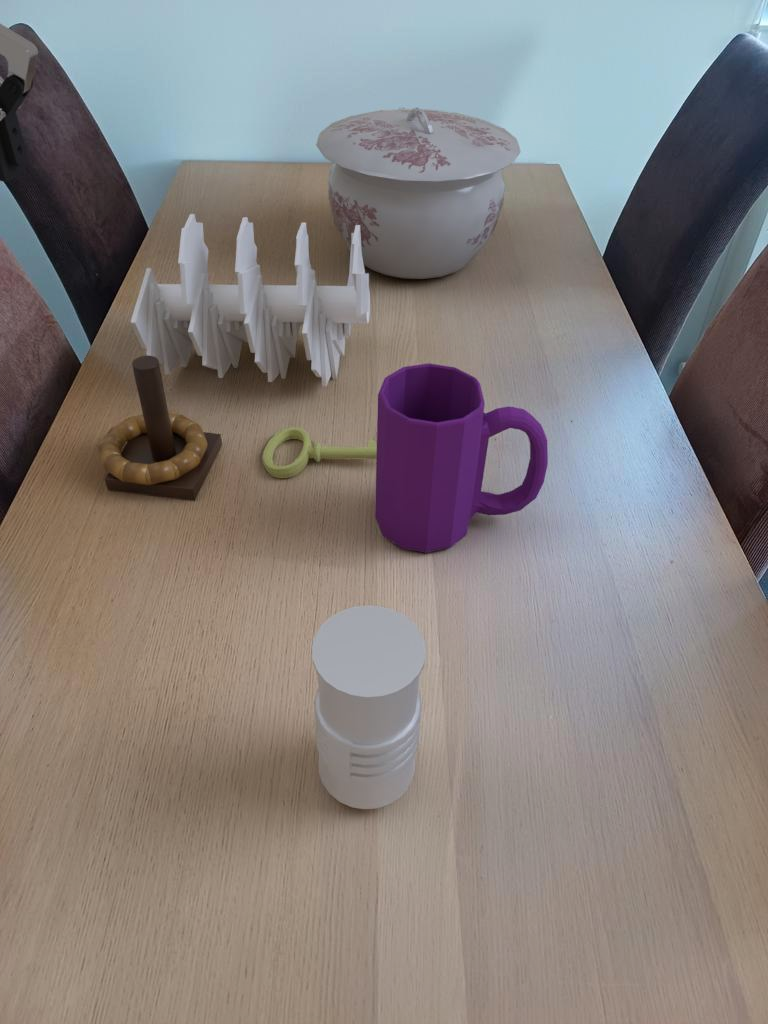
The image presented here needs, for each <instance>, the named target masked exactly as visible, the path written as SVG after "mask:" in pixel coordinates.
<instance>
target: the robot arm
mask: <svg viewBox="0 0 768 1024" xmlns="http://www.w3.org/2000/svg"><path fill="white" fill-rule="evenodd" d="M0 55H2V56H3V57H4V59H5V60H6V62H7V70H6V71H7V75H6V77H5V78H3V77H2V76H1V75H0V182H5V183H9V182H11V181H13V179H15V178H16V177H17V176H18V175H20V174H21V173H23V172H24V171H25V170H26V169H27V166H28V164H27V163H28V162H27V160H28V152H27V149H26V145H25V141H24V137H23V134H22V130H21V126H20V122H19V119H18V114H17V111H19V110H20V109H21V108H22V106H23V102H24V101H25V99H26V98H27V96H28V95H29V93H30V92H31V91H32V88H33V86H34V80H33V77H34V76H35V72H36V67H37V62H38V57H39V50H38V47H37V46H36V44H35V43H33V42H32V41H30V40H29V39H27V38H25V37H23V36H22V35H20V34H19V33H17V32H15V31H13V30H12V29H10V28H8V27H7V26H5V25H4V24H2V23H0Z"/></svg>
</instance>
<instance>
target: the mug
mask: <svg viewBox="0 0 768 1024" xmlns="http://www.w3.org/2000/svg"><path fill="white" fill-rule="evenodd" d="M485 406H486V405H485V399H484V395H483V390H482V386H481V383H480V381H479V380H478V378H477V377H475V376H473V375H471V374H470V373H467V372H465V371H463V370H461V369H459V368H457V367H455V366H448V365H442V364H436V363H430V362H429V363H421V364H414V365H407V366H402V367H400V368H399V369H398V370H397V369H396V371H393V372H392V373H391V374H389V375H387V376H385V377H384V380H383V381H382V384H381V386H380V389H379V391H378V393H377V418H376V420H377V421H376V422H377V423H376V442H377V456H376V459H375V461H376V462H375V463H376V465H375V471H376V472H375V497H374V499H375V501H374V502H375V504H374V505H375V506H374V519H375V521H376V523H377V525H378V528H379V530H380V532H381V535H382V537H385V539H387V540H388V541H390V542H391V543H393V544H394V545H396V546H397V547H399V548H400V549H403V550H409V551H415V552H421V553H425V554H427V553H432V552H436V551H442V550H446V549H451V548H452V547H453V546H455V545H456V544H457V543H458V542H460V541H461V540H462V539H463V538H465V537H466V536H467V534H468V530H469V525H470V520H471V519H472V518H473V517H474V516H475V515H476V514H477V513H478V514H482V515H484V516H485V515H486V516H505V515H509V514H512V513H517V512H520V511H522V510H523V509H524V508H526V507H527V506H528V505H530V504H531V503H532V502H533V501H534V500H536V499H537V497H538V495H539V494H540V491H541V489H542V487H543V485H544V483H545V479H546V474H547V469H548V465H549V464H548V463H549V461H548V460H549V459H548V458H549V457H548V452H549V451H548V438H547V435H546V433H545V430H544V428H543V425H542V424H541V423H540V421H538V420H537V419H536V418H535V417H534V416H533V415H532V414H531V413H530V412H529V411H527V410H526V409H524V408H520V407H514V406H510V405H509V406H503V407H498V408H495V409H493V410H491V411H487V412H485ZM510 429H514V430H519V431H521V432H523V433H525V435H526V436H527V438H528V441H529V460H528V461H529V462H528V465H527V469H526V474H525V477H524V479H523V481H522V483H521V484H520V485H518V486H517V487H515V488H514V489H512V490H510V491H506V492H502V493H501V494H500V493H499V494H498V493H493V492H488V491H482V489H483V479H484V473H485V468H486V467H485V466H486V460H487V454H488V448H489V440H490V438H491V437H494V436H496V435H498V434H500V433H502V432H504V431H506V430H510Z"/></svg>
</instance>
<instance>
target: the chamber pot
mask: <svg viewBox="0 0 768 1024" xmlns="http://www.w3.org/2000/svg"><path fill="white" fill-rule="evenodd" d="M316 147H317V149H318V150H319V152H320V154H321V155H322V156H323V158H325V160H328V161H329V162H331V163H333V164H332V166H331V168H330V171H329V175H328V180H327V183H328V184H327V185H328V202H329V206H330V210H331V215H332V219H333V224H334V226H335V228H336V230H337V231H338V233H339V235H340V237H341V238H342V239H343V241H344V242H345V244H346V246H347V247H348V248H349V249H348V250H350V251H351V233H354V231H355V226H356V225H360V232H361V250H362V258H363V264H364V267H366V268H368V269H369V270H371V271H374V272H376V273H378V274H381V275H384V276H388V277H392V278H393V277H394V278H398V279H406V280H407V279H408V280H425V279H434V278H442V277H445V276H449V275H451V274H456V273H457V272H458V271H460V270H462V269H463V268H465V267H466V266H468V265H469V264H471V263H472V261H473V260H475V258H476V256H477V255H478V254H479V252H480V251H481V250H482V249H483V248H484V247H485V245H486V243H487V242H488V241H489V240H490V238H491V236H492V235H493V233H494V232H495V230H496V226H497V224H498V220H499V217H500V215H501V212H502V208H503V206H504V199H505V190H506V183H505V179H504V175H503V173H502V170H504V169H505V168H507V167H509V166H511V165H512V164H514V163H515V161H516V160H517V158H518V157H519V155H520V154H521V152H522V151H521V147H520V144H519V141H518V139H517V138H516V137H515V136H514V135H513V134H512V133H510V132H509V131H508V130H507V129H505V128H504V127H502V126H500V125H497V124H495V123H492V122H490V121H488V120H486V119H482V118H478V117H475V116H470V115H467V114H463V113H459V112H454V111H446V110H438V109H432V108H419V107H414V108H406V107H398V108H394V109H393V108H392V109H380V110H379V109H378V110H375V111H369V112H364V113H359V114H354V115H349V116H348V117H344V118H342V119H340V120H336V121H334V122H331V124H329V125H328V126H326V127H325V128H324V129H323V130H322V131H320V132H319V134H318V136H317V141H316Z"/></svg>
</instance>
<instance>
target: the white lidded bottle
mask: <svg viewBox="0 0 768 1024" xmlns="http://www.w3.org/2000/svg"><path fill="white" fill-rule="evenodd" d="M311 656H312V657H311V659H312V665H313V667H314V671H315V672H316V675H317V684H318V685H317V687H318V688H317V689H316V693H315V696H314V701H313V707H314V724H315V725H314V726H315V742H316V749H317V752H318V761H317V762H318V774H319V778H320V780H321V782H322V785H323V787H324V788H325V789H326V791H327V792H328V794H329V795H330V796H332V798H334V799H335V800H336V801H338V802H339V803H341V804H343V805H346V806H348V807H350V808H352V809H353V808H354V809H358V810H359V809H360V810H375V809H376V810H377V809H381V808H382V807H385V806H389V805H391V804H392V803H394V802H396V801H397V800H398V799H400V798H401V797H402V796H403V795H404V794H405V793H406V791H407V790H408V789H409V788H410V786H411V783H412V782H413V779H414V778H415V769H416V753H417V751H418V745H419V739H420V730H421V729H420V728H421V726H420V725H421V719H422V710H423V704H422V698H421V693H420V691H419V687H420V676H421V674H422V672H423V670H424V668H425V665H426V664H425V663H426V657H427V647H426V641H425V638H424V636H423V634H422V632H421V630H420V628H419V627H418V626H417V625H416V624H415V623H414V622H413V621H412V620H411V619H410V618H409V617H407V616H406V615H404V614H402V613H401V612H400V611H397V610H394V609H392V608H389V607H386V606H379V605H372V604H367V605H366V604H365V605H356V606H353V607H349V608H344V609H342V610H340V611H339V612H337V613H334V614H333V615H331V616H330V617H329V618H328V619H326V620H325V621H324V622H323V623H322V624H321V625H320V627H319V628H318V630H317V631H316V633H315V634H314V638H313V641H312V644H311Z"/></svg>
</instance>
